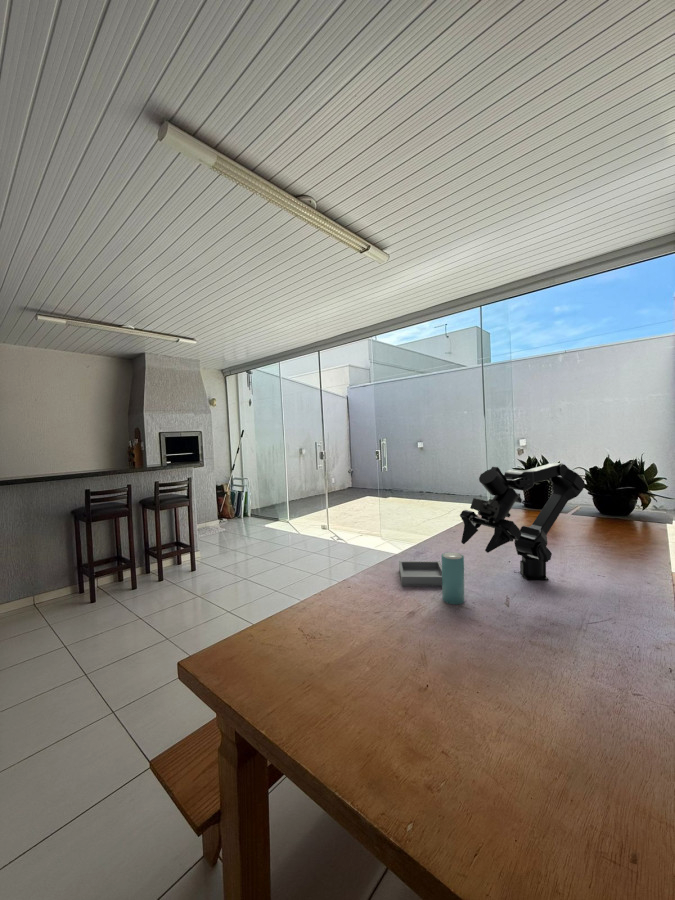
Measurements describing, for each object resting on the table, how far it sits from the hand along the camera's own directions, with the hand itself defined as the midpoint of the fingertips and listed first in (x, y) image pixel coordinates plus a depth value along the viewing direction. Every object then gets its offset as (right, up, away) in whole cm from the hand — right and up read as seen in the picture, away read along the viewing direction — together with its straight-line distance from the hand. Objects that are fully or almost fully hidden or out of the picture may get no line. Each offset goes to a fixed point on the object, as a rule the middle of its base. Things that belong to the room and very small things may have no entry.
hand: (473, 547), depth 112 cm
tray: (-12, -13, +13) cm, 22 cm away
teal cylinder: (-7, -14, -3) cm, 16 cm away
